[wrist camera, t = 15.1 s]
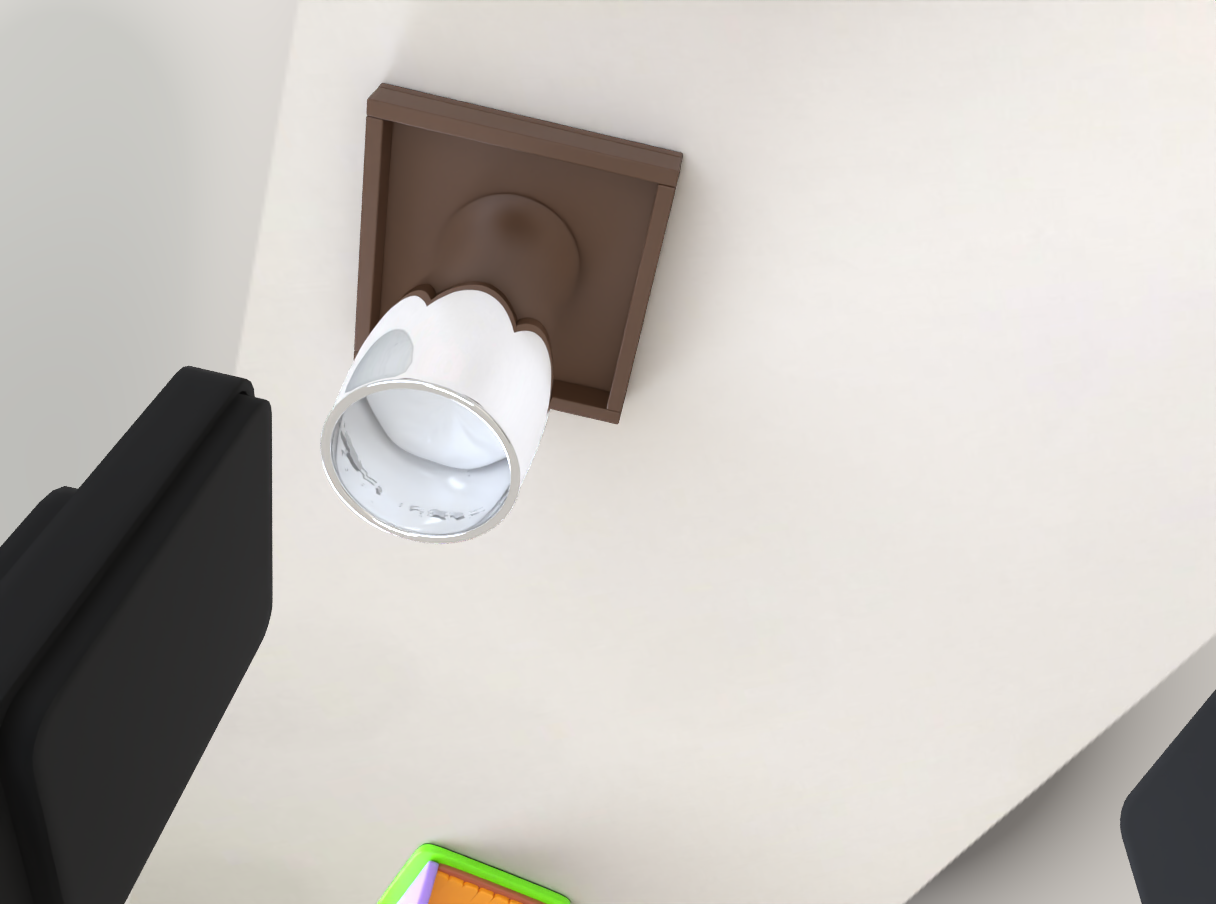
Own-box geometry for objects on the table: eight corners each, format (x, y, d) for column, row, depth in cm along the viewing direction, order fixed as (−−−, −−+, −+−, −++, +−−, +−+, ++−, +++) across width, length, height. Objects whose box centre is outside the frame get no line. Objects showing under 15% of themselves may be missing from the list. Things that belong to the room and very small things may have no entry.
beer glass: (408, 282, 47) (285, 490, 35) (470, 151, 43) (356, 336, 31) (547, 355, 49) (473, 579, 37) (619, 234, 45) (564, 442, 33)
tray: (381, 82, 43) (366, 98, 41) (683, 152, 43) (680, 171, 41) (366, 341, 50) (352, 364, 49) (623, 401, 50) (618, 425, 49)
